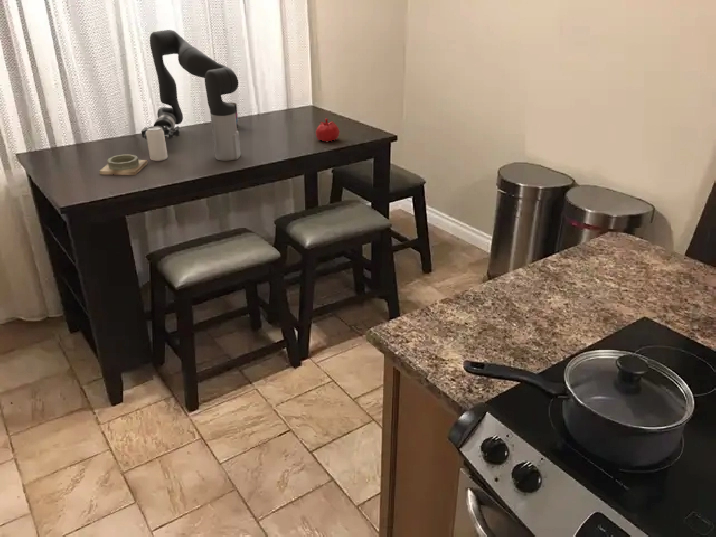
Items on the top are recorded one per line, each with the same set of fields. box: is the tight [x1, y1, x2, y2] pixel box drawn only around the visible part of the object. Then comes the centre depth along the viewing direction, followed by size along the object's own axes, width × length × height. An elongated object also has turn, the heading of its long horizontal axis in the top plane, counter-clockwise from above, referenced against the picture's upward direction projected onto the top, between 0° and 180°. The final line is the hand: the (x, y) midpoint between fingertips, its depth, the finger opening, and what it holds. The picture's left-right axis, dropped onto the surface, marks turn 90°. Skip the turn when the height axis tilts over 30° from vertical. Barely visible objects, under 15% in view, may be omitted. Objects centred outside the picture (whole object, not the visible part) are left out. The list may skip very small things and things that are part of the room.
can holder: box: [99, 153, 149, 176], centre depth 225 cm, size 13×13×4 cm
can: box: [146, 125, 168, 162], centre depth 233 cm, size 6×6×12 cm
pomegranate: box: [315, 118, 341, 142], centre depth 256 cm, size 10×10×9 cm
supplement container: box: [228, 101, 239, 128], centre depth 272 cm, size 7×7×10 cm
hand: (158, 137), depth 237 cm, fingers open, 8 cm apart
